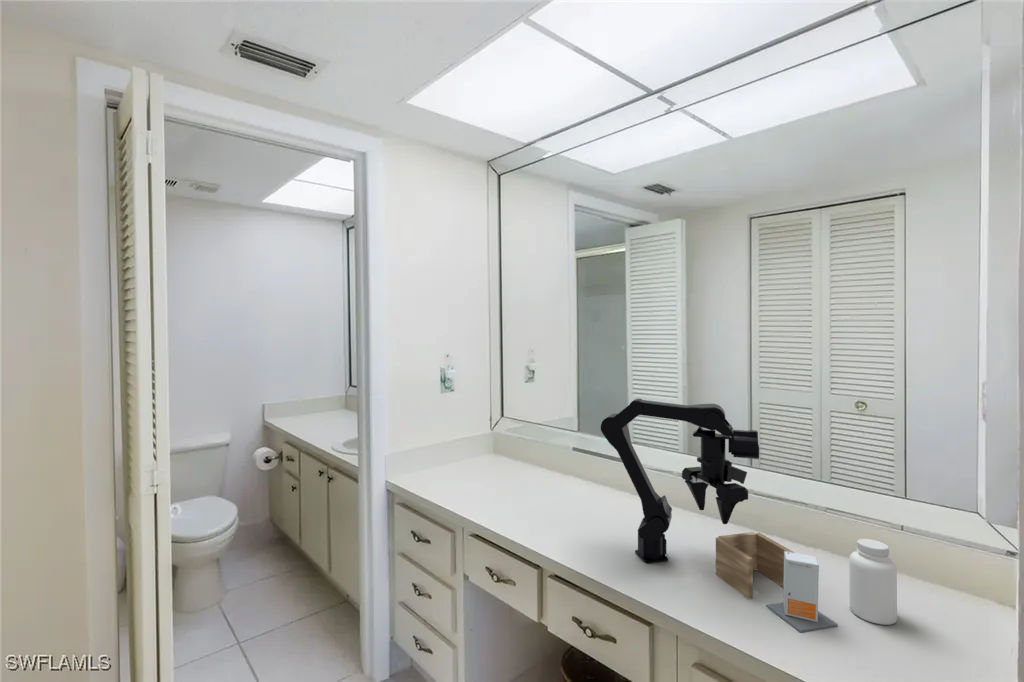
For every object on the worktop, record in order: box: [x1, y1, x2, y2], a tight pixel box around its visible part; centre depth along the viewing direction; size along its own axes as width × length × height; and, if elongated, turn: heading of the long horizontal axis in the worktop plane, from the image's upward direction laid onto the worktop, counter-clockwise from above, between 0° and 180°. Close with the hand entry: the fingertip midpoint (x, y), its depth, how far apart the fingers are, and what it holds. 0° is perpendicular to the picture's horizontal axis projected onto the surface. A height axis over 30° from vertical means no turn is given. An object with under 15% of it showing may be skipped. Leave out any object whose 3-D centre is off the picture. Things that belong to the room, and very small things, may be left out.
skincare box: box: [782, 551, 820, 622], centre depth 99 cm, size 6×4×12 cm
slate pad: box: [765, 602, 838, 633], centre depth 99 cm, size 9×9×1 cm
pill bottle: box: [848, 538, 898, 626], centre depth 99 cm, size 8×8×15 cm
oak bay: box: [715, 531, 795, 600], centre depth 112 cm, size 12×12×9 cm
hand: (712, 516), depth 119 cm, fingers open, 9 cm apart
